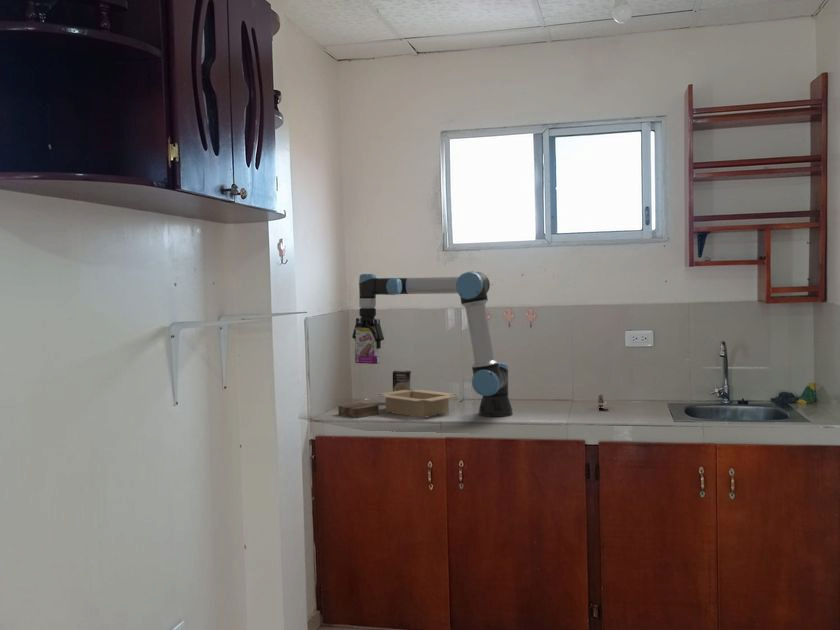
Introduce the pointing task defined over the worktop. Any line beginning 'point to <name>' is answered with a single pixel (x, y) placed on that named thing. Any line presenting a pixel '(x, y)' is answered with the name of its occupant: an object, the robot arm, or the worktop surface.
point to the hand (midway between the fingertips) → (368, 355)
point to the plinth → (358, 410)
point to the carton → (417, 402)
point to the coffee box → (401, 380)
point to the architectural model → (600, 401)
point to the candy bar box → (365, 346)
